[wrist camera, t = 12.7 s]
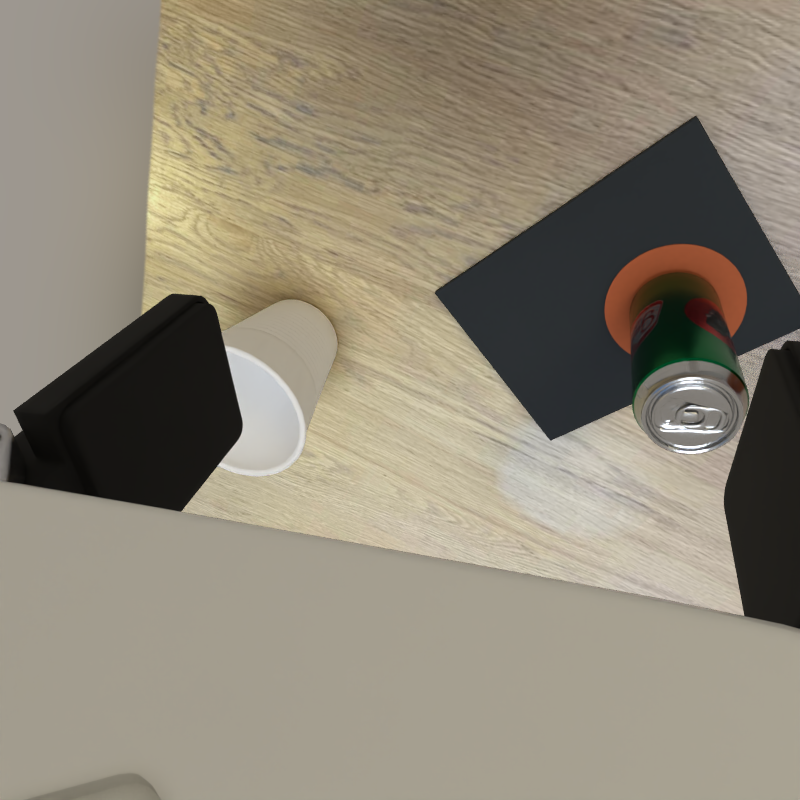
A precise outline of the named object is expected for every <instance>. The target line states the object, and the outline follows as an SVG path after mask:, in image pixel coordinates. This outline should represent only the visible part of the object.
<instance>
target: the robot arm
mask: <svg viewBox="0 0 800 800" xmlns="http://www.w3.org/2000/svg"><path fill="white" fill-rule="evenodd" d="M14 413H15V415H16V417H17V419H18V421H19V423H20V426H21V428H22V430H23V431H21V432H20V433H19V434H18V435H16V436H15V437H14V435H13V433H12V431H11V429H9V428H8V427H7V426H6V425H4V424H0V800H800V342H798V341H786V342H785V343H784V344H783V346H782V348H781V350H777V349H770V350H769V351H768V352H767V354H766V356H765V359H764V362H763V365H762V369H761V372H760V375H759V378H758V382H757V385H756V388H755V391H754V395H753V398H752V401H751V404H750V408H749V411H748V414H747V418H746V421H745V424H744V427H743V431H742V434H741V437H740V440H739V444H738V447H737V450H736V453H735V457H734V460H733V463H732V467H731V470H730V473H729V476H728V480H727V483H726V487H725V493H724V509H725V514H726V519H727V525H728V530H729V535H730V541H731V546H732V552H733V557H734V562H735V568H736V573H737V578H738V584H739V589H740V594H741V600H742V605H743V610H744V616H741V615H736V614H732V613H727V612H722V611H718V610H713V609H708V608H704V607H699V606H694V605H689V604H685V603H680V602H675V601H671V600H665V599H660V598H655V597H649V596H644V595H638V594H633V593H627V592H622V591H617V590H611V589H606V588H600V587H595V586H589V585H584V584H579V583H573V582H568V581H562V580H557V579H551V578H546V577H541V576H535V575H530V574H524V573H519V572H513V571H508V570H503V569H497V568H492V567H486V566H481V565H475V564H470V563H465V562H459V561H453V560H448V559H442V558H437V557H431V556H425V555H420V554H414V553H409V552H403V551H397V550H392V549H386V548H381V547H375V546H369V545H364V544H358V543H353V542H347V541H341V540H336V539H330V538H325V537H319V536H314V535H308V534H302V533H297V532H291V531H286V530H280V529H274V528H269V527H263V526H258V525H252V524H247V523H241V522H235V521H230V520H224V519H219V518H213V517H208V516H202V515H196V514H191V513H185V512H181V511H182V510H183V509H184V507H185V506H186V505H187V504H188V502H189V501H190V500H191V499H192V497H193V496H194V495H195V493H196V492H197V491H198V490H199V488H200V487H201V486H202V485H203V483H204V482H205V481H206V480H207V478H208V477H209V476H210V475H211V473H212V472H213V471H214V470H215V468H216V467H217V466H218V465H219V463H220V462H221V461H222V460H223V458H224V457H225V456H226V455H227V453H228V452H229V451H230V450H231V448H232V447H233V446H234V445H235V443H236V442H237V441H238V439H239V438H240V436H241V433H242V429H243V421H242V416H241V412H240V408H239V404H238V400H237V395H236V391H235V387H234V383H233V379H232V375H231V370H230V366H229V362H228V358H227V354H226V349H225V345H224V341H223V337H222V333H221V329H220V324H219V320H218V316H217V312H216V310H215V308H214V307H213V306H212V305H211V304H209V303H208V302H207V300H206V299H205V298H204V297H202V296H197V295H184V294H171V295H169V296H167V297H166V298H165V299H163V300H162V301H161V302H159V303H158V304H156V305H155V306H154V307H152V308H151V309H150V310H148V311H147V312H146V313H144V314H143V315H142V316H140V317H139V318H138V319H136V320H135V321H134V322H132V323H131V324H130V325H128V326H127V327H126V328H124V329H123V330H121V331H120V332H119V333H117V334H116V335H115V336H113V337H112V338H111V339H109V340H108V341H107V342H105V343H104V344H102V345H101V346H100V347H98V348H97V349H96V350H94V351H93V352H92V353H90V354H89V355H88V356H86V357H85V358H84V359H82V360H81V361H80V362H78V363H77V364H76V365H74V366H73V367H71V368H70V369H69V370H67V371H66V372H65V373H63V374H62V375H61V376H59V377H58V378H57V379H55V380H54V381H53V382H51V383H50V384H49V385H47V386H46V387H45V388H43V389H42V390H40V391H39V392H38V393H36V394H35V395H34V396H32V397H31V398H30V399H28V400H27V401H26V402H24V403H23V404H22V405H20V406H19V407H17V408H16V409H15V410H14Z"/></svg>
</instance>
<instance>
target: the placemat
mask: <svg viewBox="0 0 800 800" xmlns="http://www.w3.org/2000/svg"><path fill="white" fill-rule="evenodd" d="M674 272H684V273H690V274H694V275H697V276H699V277H701V278H703V279H705V280H706V281H707V282H709V283H710V284H711V285H712V286H713V287H714V289H715V290H716V292H717V294H718V297H719V299H720V302H721V306H722V309H723V312H724V315H725V319H726V322H727V325H728V328H729V331H730V335H731V338H732V341H733V344H734V347H735V351H736V354H737V356H740V355H742V354H744V353H746V352H748V351H751V350H753V349H755V348H757V347H760V346H762V345H764V344H766V343H768V342H771V341H773V340H775V339H777V338H780V337H782V336H784V335H786V334H788V333H791V332H793V331H795V330H797V329H800V295H799V293H798V291H797V289H796V288H795V286H794V284H793V282H792V281H791V279H790V277H789V275H788V274H787V272H786V270H785V269H784V267H783V265H782V263H781V262H780V260H779V258H778V256H777V255H776V253H775V251H774V250H773V248H772V246H771V244H770V243H769V241H768V239H767V237H766V236H765V234H764V232H763V230H762V229H761V227H760V225H759V224H758V222H757V220H756V218H755V217H754V215H753V213H752V211H751V210H750V208H749V206H748V205H747V203H746V201H745V199H744V198H743V196H742V194H741V192H740V191H739V189H738V187H737V185H736V184H735V182H734V180H733V179H732V177H731V175H730V173H729V172H728V170H727V168H726V166H725V165H724V163H723V161H722V159H721V158H720V156H719V154H718V153H717V151H716V149H715V147H714V146H713V144H712V142H711V140H710V139H709V137H708V135H707V134H706V132H705V130H704V128H703V127H702V125H701V123H700V121H699V120H698V118H697V116H695V117H694V118H692V119H691V120H689V121H688V122H686V123H685V124H683V125H682V126H680V127H679V128H677V129H676V130H674V131H673V132H671V133H670V134H668V135H667V136H665V137H664V138H662V139H661V140H659V141H658V142H656V143H655V144H653V145H652V146H651V147H649V148H648V149H646V150H645V151H643V152H642V153H640V154H639V155H637V156H636V157H634V158H633V159H631V160H630V161H628V162H627V163H625V164H624V165H622V166H621V167H619V168H618V169H616V170H615V171H613V172H612V173H610V174H609V175H607V176H606V177H604V178H603V179H602V180H600V181H599V182H597V183H596V184H594V185H593V186H591V187H590V188H588V189H587V190H585V191H584V192H582V193H581V194H579V195H578V196H576V197H575V198H573V199H572V200H570V201H569V202H567V203H566V204H564V205H563V206H561V207H560V208H558V209H557V210H556V211H554V212H553V213H551V214H550V215H548V216H547V217H545V218H544V219H542V220H541V221H539V222H538V223H536V224H535V225H533V226H532V227H530V228H529V229H527V230H526V231H524V232H523V233H521V234H520V235H518V236H517V237H515V238H514V239H512V240H511V241H509V242H508V243H507V244H505V245H504V246H502V247H501V248H499V249H498V250H496V251H495V252H493V253H492V254H490V255H489V256H487V257H486V258H484V259H483V260H481V261H480V262H478V263H477V264H475V265H474V266H472V267H471V268H469V269H468V270H466V271H465V272H463V273H462V274H460V275H459V276H458V277H456V278H455V279H453V280H452V281H450V282H449V283H447V284H446V285H444V286H443V287H441V288H440V289H438V290H437V291H436V292H435V294H436V295H437V296H438V298H439V299H440V300H441V301H442V303H443V304H444V305H445V307H446V308H447V309H448V310H449V312H450V313H451V314H452V316H453V317H454V318H455V319H456V321H457V322H458V323H459V324H460V326H461V327H462V328H463V330H464V331H465V332H466V333H467V335H468V336H469V337H470V338H471V340H472V341H473V342H474V344H475V345H476V346H477V347H478V349H479V350H480V351H481V353H482V354H483V355H484V356H485V358H486V359H487V360H488V361H489V363H490V364H491V365H492V367H493V368H494V369H495V370H496V372H497V373H498V374H499V376H500V377H501V378H502V379H503V381H504V382H505V383H506V384H507V386H508V387H509V388H510V390H511V391H512V392H513V393H514V395H515V396H516V397H517V398H518V400H519V401H520V402H521V404H522V405H523V406H524V407H525V409H526V410H527V411H528V413H529V414H530V415H531V416H532V418H533V419H534V420H535V421H536V423H537V424H538V425H539V427H540V428H541V429H542V430H543V432H544V433H545V434H546V436H547V437H548V438H549V439H550V440H553V439H555V438H557V437H560V436H562V435H564V434H566V433H568V432H571V431H573V430H575V429H577V428H580V427H582V426H584V425H586V424H588V423H591V422H593V421H595V420H597V419H600V418H602V417H604V416H606V415H608V414H611V413H613V412H615V411H617V410H620V409H622V408H624V407H626V406H628V405H631V404H632V382H631V351H630V321H629V311H630V306H631V302H632V300H633V298H634V296H635V295H636V293H637V292H638V290H639V289H640V288H641V287H642V286H643V285H645V284H646V283H647V282H648V281H650V280H652V279H654V278H656V277H658V276H660V275H664V274H668V273H674Z"/></svg>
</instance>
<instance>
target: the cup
mask: <svg viewBox="0 0 800 800" xmlns="http://www.w3.org/2000/svg"><path fill="white" fill-rule="evenodd" d="M221 333H222V337H223V341H224V345H225V349H226V354H227V358H228V362H229V366H230V370H231V375H232V379H233V383H234V387H235V391H236V395H237V400H238V404H239V408H240V412H241V416H242V421H243V429H242V433H241V436H240V438H239V439H238V441H237V442H236V443H235V445H234V446H233V447H232V448H231V450H230V451H229V452H228V453H227V455H226V456H225V457H224V458H223V460H222V461H221V462H220V463H219V465H218V467H221V468H223V469H225V470H228V471H230V472H234V473H238V474H241V475H248V476H268V475H272V474H276V473H279V472H281V471H283V470H285V469H287V468H289V467H290V466H291V465H292V464H293V463H294V462H295V461H296V460H297V459H298V458H299V456H300V454H301V453H302V451H303V449H304V445H305V441H306V432H307V429H308V426H309V424H310V421H311V419H312V416H313V413H314V410H315V408H316V405H317V403H318V400H319V397H320V395H321V392H322V390H323V387H324V384H325V382H326V379H327V376H328V374H329V371H330V369H331V367H332V364H333V361H334V359H335V356H336V353H337V346H338V342H337V336H336V333H335V330H334V327H333V326H332V324H331V322H330V321H329V319H328V318H327V317H326V316H325V315H324V314H323V313H322V312H321V311H320V310H319V309H317V308H316V307H314V306H313V305H311V304H309V303H306V302H304V301H300V300H291V299H287V300H282V301H279V302H277V303H274V304H273V305H271V306H269V307H267V308H265V309H263V310H261V311H260V312H258V313H256V314H254V315H252V316H251V317H249V318H247V319H245V320H243V321H241V322H240V323H237V324H236V325H234V326H232V327H230V328H228V329H227V330H224V331H223V332H221Z"/></svg>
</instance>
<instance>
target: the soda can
mask: <svg viewBox="0 0 800 800" xmlns="http://www.w3.org/2000/svg"><path fill="white" fill-rule="evenodd" d="M629 321H630V351H631V382H632V408H633V413H634V417H635V419H636V421H637V423H638V425H639V426H640V427H641V429H642V430H643V431H644V432H645V433H646V434H647V435H648V437H649V438H650V439H651V440H652V441H653V442H654V443H656V444H657V445H658V446H660V447H662V448H664V449H666V450H669V451H671V452H675V453H680V454H700V453H705V452H709V451H712V450H715V449H717V448H719V447H721V446H723V445H725V444H726V443H727V442H729V441H730V440H731V439H732V438H733V437H734V436H735V435H736V433H737V432H738V431H739V429H740V427H741V425H742V421H743V420H744V418H745V416H746V414H747V411H748V407H749V394H748V389H747V386H746V383H745V380H744V376H743V373H742V370H741V367H740V364H739V360H738V357H737V354H736V351H735V347H734V344H733V341H732V338H731V335H730V331H729V328H728V325H727V322H726V319H725V315H724V312H723V309H722V306H721V302H720V299H719V297H718V294H717V292H716V290H715V289H714V287H713V286H712V285H711V284H710V283H709V282H707V281H706V280H705V279H703V278H701V277H699V276H697V275H694V274H690V273H684V272H674V273H668V274H664V275H660V276H658V277H656V278H654V279H652V280H650V281H648V282H647V283H646V284H645V285H643V286H642V287H641V288H640V289H639V290H638V292H637V293H636V295H635V296H634V298H633V300H632V302H631V306H630V311H629Z"/></svg>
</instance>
